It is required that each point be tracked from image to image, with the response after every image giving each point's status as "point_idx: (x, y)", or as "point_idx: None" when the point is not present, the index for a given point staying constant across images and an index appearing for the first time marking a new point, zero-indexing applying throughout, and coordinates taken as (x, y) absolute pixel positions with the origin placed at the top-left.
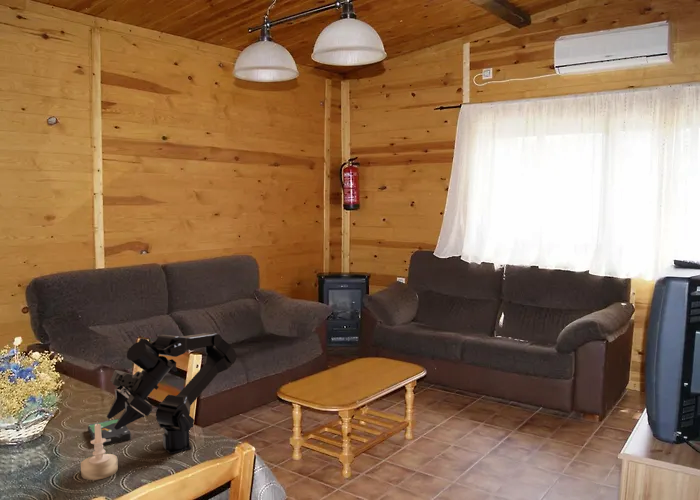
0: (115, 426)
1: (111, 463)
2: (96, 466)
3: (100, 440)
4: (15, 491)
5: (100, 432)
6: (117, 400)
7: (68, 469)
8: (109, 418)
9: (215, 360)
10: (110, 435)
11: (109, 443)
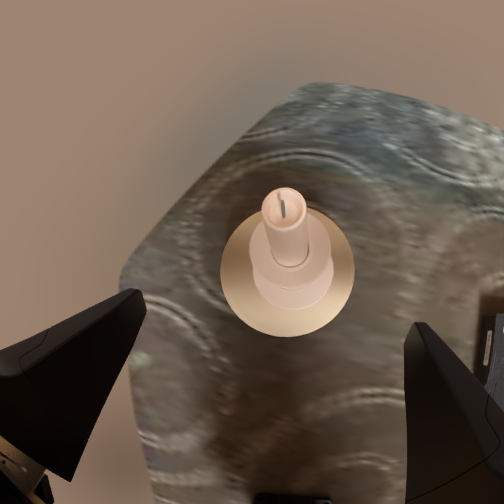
0: (121, 294)
1: (232, 298)
2: (244, 245)
3: (272, 252)
4: (309, 92)
5: (268, 240)
6: (475, 465)
7: (373, 203)
8: (405, 342)
9: None
10: (500, 367)
11: (479, 360)
